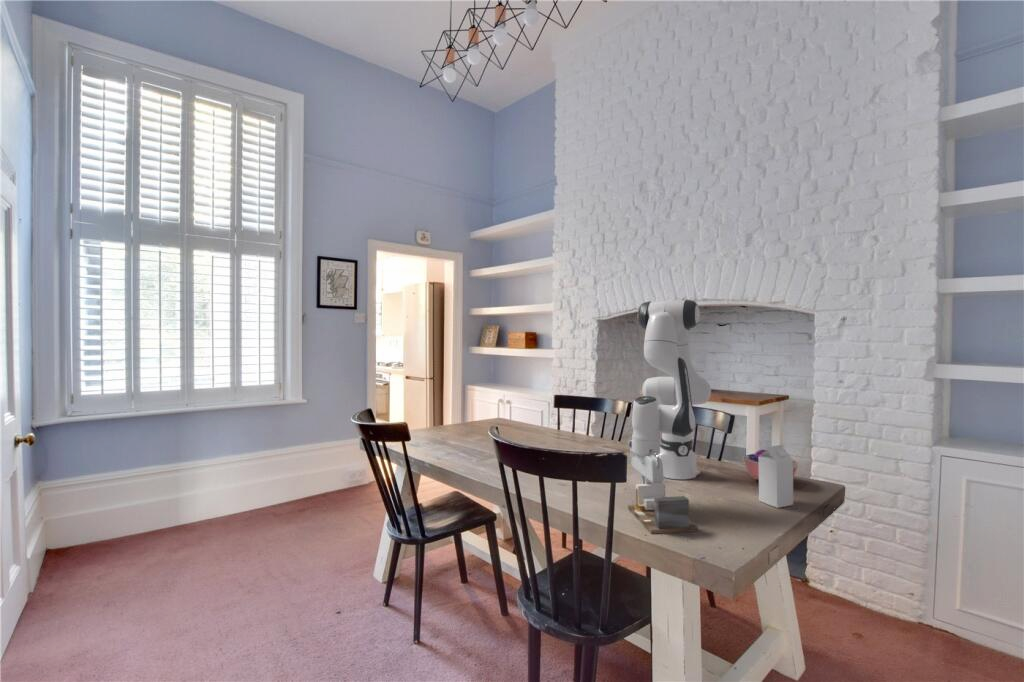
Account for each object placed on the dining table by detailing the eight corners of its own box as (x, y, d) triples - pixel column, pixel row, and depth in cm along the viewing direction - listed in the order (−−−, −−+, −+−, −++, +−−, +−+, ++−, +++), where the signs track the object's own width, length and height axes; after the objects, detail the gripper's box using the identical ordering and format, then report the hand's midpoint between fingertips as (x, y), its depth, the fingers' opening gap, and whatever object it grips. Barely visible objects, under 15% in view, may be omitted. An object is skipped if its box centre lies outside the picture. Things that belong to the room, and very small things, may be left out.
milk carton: (758, 501, 160) (758, 444, 160) (774, 498, 162) (773, 442, 162) (777, 508, 153) (776, 449, 153) (793, 505, 156) (792, 446, 156)
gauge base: (627, 508, 156) (627, 480, 156) (669, 505, 158) (668, 478, 158) (651, 533, 137) (650, 502, 136) (698, 530, 138) (697, 499, 138)
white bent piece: (635, 504, 156) (635, 484, 156) (663, 503, 156) (662, 482, 156) (645, 514, 147) (645, 493, 147) (674, 513, 148) (673, 491, 148)
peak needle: (634, 509, 152) (634, 488, 151) (643, 508, 152) (643, 488, 152) (635, 509, 151) (635, 489, 151) (644, 509, 151) (643, 488, 151)
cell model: (773, 492, 168) (773, 460, 168) (732, 476, 187) (732, 447, 187) (811, 487, 173) (811, 456, 172) (767, 472, 192) (767, 444, 192)
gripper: (668, 454, 148) (669, 498, 148) (644, 439, 168) (645, 479, 168) (648, 454, 147) (649, 499, 147) (626, 440, 167) (627, 479, 168)
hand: (646, 488), depth 158 cm, fingers closed
